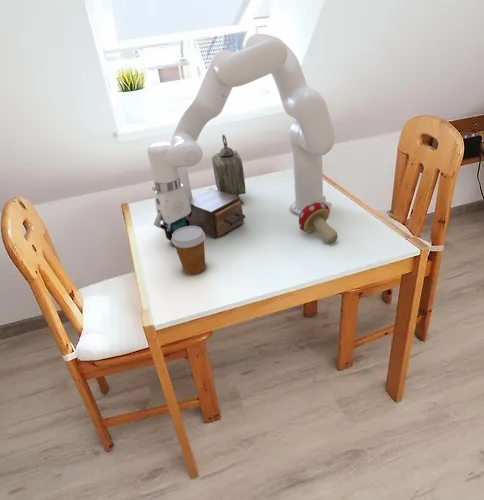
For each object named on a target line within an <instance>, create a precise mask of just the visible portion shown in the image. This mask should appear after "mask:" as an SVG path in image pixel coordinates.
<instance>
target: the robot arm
mask: <svg viewBox="0 0 484 500" xmlns="http://www.w3.org/2000/svg"><path fill="white" fill-rule="evenodd" d="M268 75H271V76H272V78H273V80H274V83H275V85H276V89H277V91H278V94H279V97H280V100H281V105H282V107H283V110H284V112H285V113H286V114H287V115H288V116H289V117H291V118H293V119H294V121H293V122H292V123H291V125H290V128H289V142H290V147H291V152H292V159H293V160H292V163H293V164H292V165H293V180H294V183H293V184H294V199H295V200H294V202H292V204H291V212H292V213H293V214H296V215H298V216H300V213H301V211H302V210H303V209H304V208H305V207H306V206H307V205H309V204H312V203H315V202H317V203H324V204H326V205H327V206H328V207H329V210H330V211H331V208H332V205H333V204H332V202H329V201H327V200H326V198H327V197H326V196H324V186H323V185H324V184H323V183H324V182H323V179H324V178H323V156H325V155H327V154H328V153H329V152H330V151H331V150H332V148H333V147H334V145H335V131H334V127H333V123H332V120H331V116H330V112H329V108H328V105H327V102H326V101H325V98H324V96H323V95H322V94H321V93H320V92H319V91H317V90H315V89H313V88H311V87H309V86H308V83H307V81H306V78H305V75H304V72H303V70H302V66H301V63H300V62H299V59H298V57H297V55H296V54H295V53H294V51H293V50H292V49H291V47H289V46H288V44H286V43H285V42H284V41H283V40H282V39H281V38H279V37H277V36H274V35H271V34H267V33H255V34H252V35H250V36H249V37H248V38H247V40H246V41H245V44H244V48H243V49H240V50H237V51H232V50H228V49H227V50H226V49H223V50H222V49H221V50H219V51H217V52H216V53H214V55H213V56H212V58H211V59H210V62H209V63H208V65H207V68H206V71H205V73H204V75H203V76H202V77H203V78H202V80H201V82H200V84H199V87H198V89H197V91H196V93H195V94H194V95H195V96H194V97H193V99H192V100H191V102H190V104H189V105H188V106H187V108H186V109H185V111H184V112H183V114H182V115H181V117H180V118H179V121H178V123H177V126H176V128H175V130H174V132H173V134H172V137H171V140H170V142H167V141H160V142H155V143H152V144H151V145H149V147H148V148H147V157H148V160H149V164H150V168H151V173H152V177H153V181H154V182H153V184H154V185H153V186H152V190H153V192H154V201H155V209H156V214H157V216H156V217H155V220H154V222H153V226H155V227H157V228H159V229H161V230H164V234H165V238H166V239H167V241H170V242H171V239H172V234H173V231H172V230H170V229H171V223H173V222H175V221H177V220H179V219H181V218H183V217H184V218H185V220H186V225H187V226H190V223H189V221H190V217H191V214H192V211H193V209H194V207H195V206H194V205H193V204H191V203H190V202H189V198H188V195H187V192H186V190H185V188H184V185H183V184H181V183H180V178H179V173H178V168H177V167H187V168H189V167H195V166H196V165H198V164H200V163H201V161H202V159H203V155H204V154H203V149H202V147H201V145H200V144H199V143H198V139H199V137H200V134H201V133H202V131H203V129H204V127H205V126H206V125H207V124H208V122H210V121H211V120H213V119H215V118H217V117H218V116H219V115H220V114H222V112H223V110H224V107H225V105H226V102H227V101H228V98H229V96H230V94H231V91H232V90H233V88H238V87H242V86H244V85H247V84H250V83H253V82H255V81H257V80H259V79H262V78H264V77H266V76H268Z"/></svg>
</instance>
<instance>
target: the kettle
mask: <svg viewBox="0 0 484 500" xmlns="http://www.w3.org/2000/svg"><path fill="white" fill-rule="evenodd" d="M186 226H187V225H186V220H185V218H184V217H183V218H181V219H179V220H177V221H175V222H173V223H171V229H170V230H172V231H173V233H174V232H175V231H176V230H177V229H179V228H182V227H186ZM170 244H171V246H173V247H175V245H174V244H173V243H172V241H170Z"/></svg>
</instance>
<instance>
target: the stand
mask: <svg viewBox="0 0 484 500" xmlns="http://www.w3.org/2000/svg"><path fill="white" fill-rule="evenodd" d="M239 197H240V196H239ZM239 197H237V196H234V195H230V194H227V193H224V192H221V191H218V189H214V188H211V187H210V188H209V189H207V190H204V191H202V192H201V193H198V194H196V195H194V196H192V198H190V199H189V202H190V203H191V204H193V205H194V206H195V207H194V209H193V211H192V214H191V217H190V221H189V223H190V226H197V227H200V228H201V229H202V230H203V232H204V233H205V235H206V236H209V237H212V238H214V239H217V238H219V237H220V236H218V235H217V232H216V227H215V221H214V215H213V213H215V212H217V211H218V210H220V209H222V208H224V207H226V206H228V205H230V204H232V203H233V202H237V201H240V200H239Z"/></svg>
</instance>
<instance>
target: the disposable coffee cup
mask: <svg viewBox="0 0 484 500" xmlns="http://www.w3.org/2000/svg"><path fill="white" fill-rule="evenodd" d="M205 238H206V234H205V233H204V232H203V230H202V229H201V228H200V227H197V226H186V227H182V228H179V229H177V230H176V231H175V232H174V233H173V234H172V239H171V241H172V243H173V244H174V245H175V246H174V248H175V250H176V254H177V256H178V258H179V261H180V264H181V266H182V269H183V272H184V273H185V274H186V275H189V276H190V275H198V274H201V273H202V272H204V271H205V269H206V253H205V251H206V249H205ZM171 241H170V242H171Z"/></svg>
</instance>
